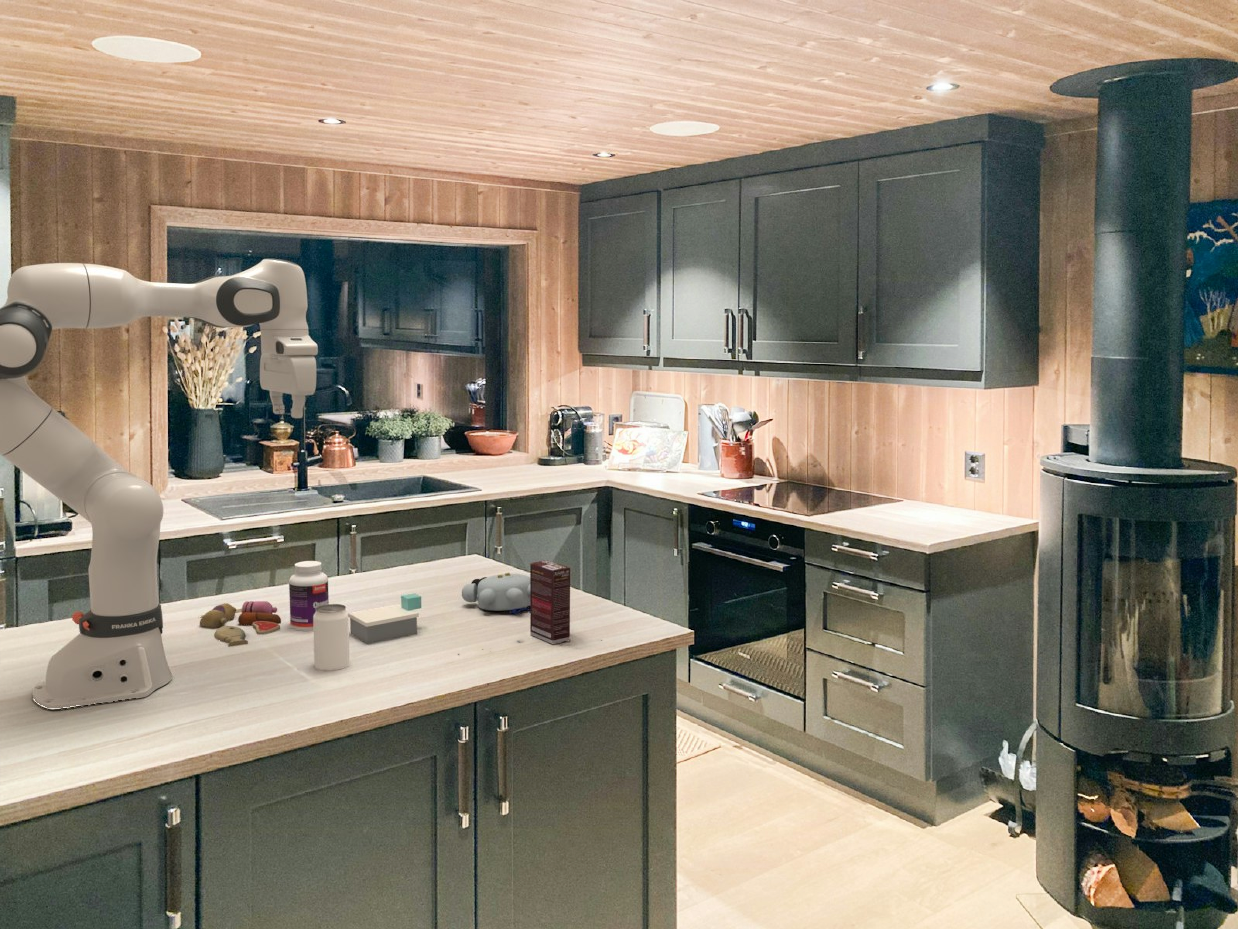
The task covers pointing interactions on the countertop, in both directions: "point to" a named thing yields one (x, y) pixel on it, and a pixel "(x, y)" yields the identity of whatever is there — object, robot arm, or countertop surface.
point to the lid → (389, 612)
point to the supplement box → (550, 601)
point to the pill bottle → (307, 594)
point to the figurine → (500, 592)
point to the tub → (383, 630)
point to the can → (331, 637)
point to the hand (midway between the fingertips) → (287, 415)
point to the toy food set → (241, 621)
